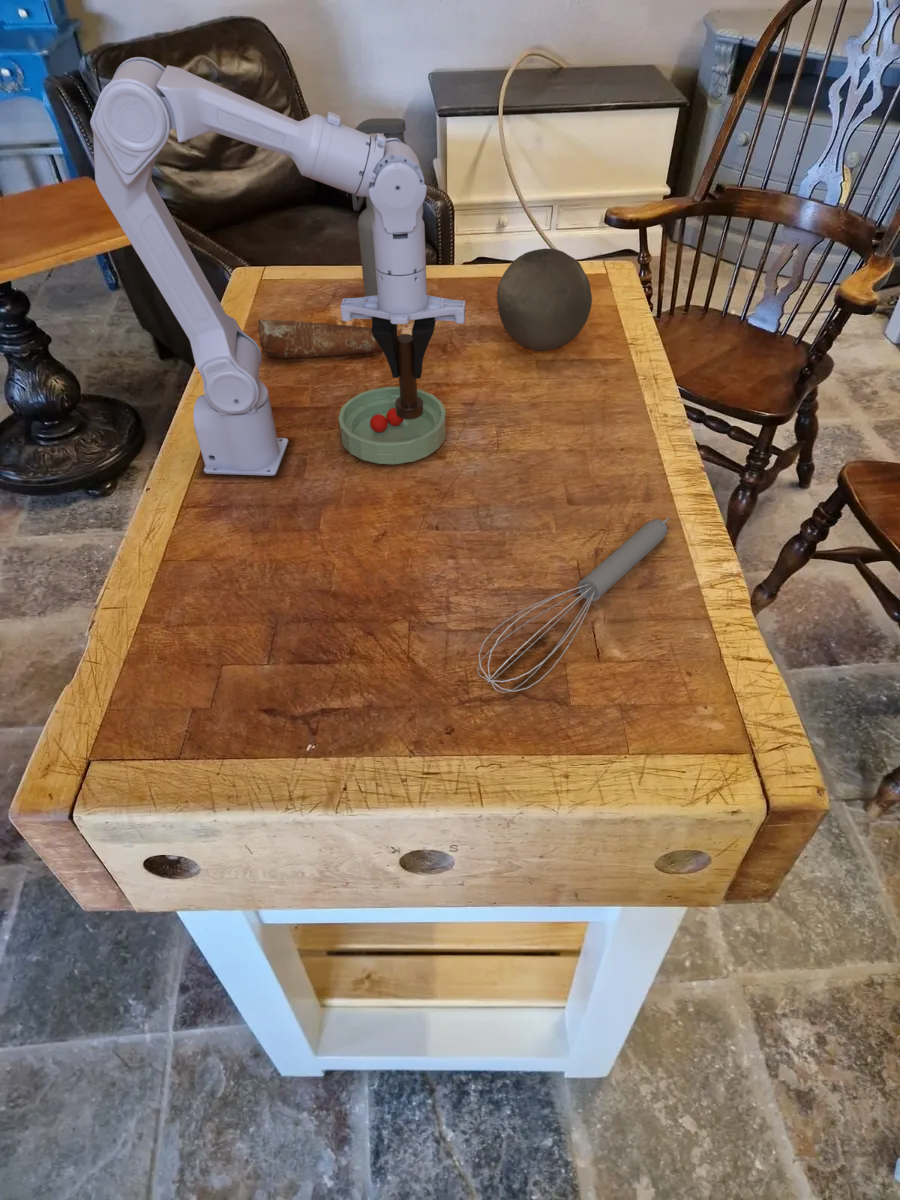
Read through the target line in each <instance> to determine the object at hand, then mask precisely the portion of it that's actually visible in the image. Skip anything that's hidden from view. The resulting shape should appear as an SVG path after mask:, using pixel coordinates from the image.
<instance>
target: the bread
mask: <svg viewBox="0 0 900 1200" xmlns="http://www.w3.org/2000/svg"><path fill="white" fill-rule="evenodd" d="M257 324H258V329H257V331H258V334H259V343H260V347H261V350H262V351H261V352H262V353H263V355H265V357H268V358H275V359H297V358H298V359H299V358H312V357H314V358H315V357H338V356H349V355H361V354H371V353H377V352H379V351H380V350H382V348H381V347H380V345H379V344H378V342H377V341H376V339H375V338H374V337H373V335H372V331H371V328H372V327H370V326H369V327H368V326H367V327H366V326H356V325H345V324H344V325H343V324H333V323H323V322H311V321H310V322H309V321H297V320H283V319H263V318H262V319H258V322H257Z"/></svg>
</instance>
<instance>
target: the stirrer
mask: <svg viewBox="0 0 900 1200" xmlns="http://www.w3.org/2000/svg"><path fill="white" fill-rule="evenodd" d="M396 344H397V359H398V372H399V377H398V387H399V388H400V397H399V398H398V399H397V400H396V401H395V410H396V415H397V416H398V417H400V418H402V419H416V418H418V417H420V416H421V415H422V414H423V400H422V399H421V398H420V397H418V396H417V389H418V384H417V383H418V381H417V379H415V376H414V361H415V356H414V345H413V338H412V334H409V333H402V334H399V335H397V338H396Z"/></svg>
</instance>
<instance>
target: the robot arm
mask: <svg viewBox="0 0 900 1200" xmlns="http://www.w3.org/2000/svg"><path fill="white" fill-rule="evenodd" d="M341 122H342V120H341V116H340V115H339V114H337V113H334V112H331V111H328V112H327V115H326V117H325V116H323V115H320V114H317V113H314V114H312V115H310V116H308V117H306V118H304V119H301V120H296V119H293V118H291V117H290V116H288V115H285V114H282V113H280V112H279V111H276V110H274V109H272V108H269V107H267V106H265V105H262V104H261V103H258V102H257V101H253V100H252V99H249V98H247V97H244V96H242V95H240V94H238V93H236V92H234V91H231V90H229V89H227V88H225V87H222V86H220V85H218V84H216V83H213V82H211V81H209V80H207V79H204V78H203V77H200V76H198V75H196V74H194V73H192V72H189V71H187V70H185V69H183V68H181V67H177V66H172V65H169V64H168V65H166V67H164V66H163V65H162V64H161V63H159V62H158V61H155V60H154V59H151V58H148V57H143V56H135V57H130V58H127V59H126V60H124V61H122V62H121V64H120V65H119V66H118V67H117V68H116V70H115V73H114V74H113V77H112V78H111V80H110V82H108V83H107V84H106V85H105V86H104V87H103V89H102V90H101V92H100V93H99V96H98V98H97V101H96V104H95V107H94V110H93V112H92V115H91V118H90V121H89V124H90V128H91V131H92V137H93V139H92V140H93V156H94V157H93V164H94V180H95V184H96V186H97V189H98V191H99V193H100V194H101V196H102V198H103V199H104V201H105V203H106V205H107V206H108V208H109V209H110V211H111V213H112V214H113V216H114V218H115V220H116V221H117V223H118V224H119V226H120V228H121V229H122V231H123V233H124V234H125V236H126V238H127V239H128V241H129V242H130V244H131V246H132V248H133V249H134V251H135V253H136V255H138V257H139V259H140V261H141V263H142V264H143V265H144V267H145V269H146V271H147V272H148V274H149V275H150V277H151V279H152V280H153V282H154V284H155V285H156V287H157V288H158V291H159V292H160V295H162V297H163V299H164V301H165V302H166V304H167V305H168V307H169V308H170V310H171V312H172V314H173V315H174V317H175V319H176V320H177V322H178V323H179V325H180V327H181V329H182V330H183V332H184V333H185V335H186V336H187V338H188V341H189V343H190V347H191V352H192V356H193V360H194V365H195V367H196V369H197V371H198V372H199V374H200V377H201V379H202V384H203V387H202V388H203V392H204V393H203V394H202V395H199V396H198V397H197V398H196V400H195V403H194V407H193V417H192V418H193V427H194V431H195V435H196V439H197V442H198V445H199V449H200V452H201V456H202V459H203V463H204V468H203V472H204V474H207V475H209V474H210V475H241V476H267V477H274V476H277V473H278V471H279V468H280V465H281V463H282V460H283V458H284V455H285V453H286V450H287V447H288V444H289V439H288V438H286V437H278V434H277V429H276V425H275V420H274V414H273V409H272V405H271V399H270V394H269V389H268V388H267V386H266V385H265V384H264V383H263V382H262V379H260V370H261V369H260V368H261V364H262V358H263V357H262V351H261V348H260V346H259V344H258V343H257V341H255V340H254V339H253V338H252V337H251V336H250V335H248V334H247V333H245V331H243V330H242V328H241V326H240V325H239V323H238V322H237V320H236V318H234V317H232V316H231V315H229V314H227V313H226V311H225V309H224V307H223V306H222V304H221V302H220V300H219V299H218V297H217V295H216V294H215V292H214V290H213V287H212V286H211V284H210V282H209V281H208V279H207V277H206V276H205V274H204V272H203V270H202V268H201V266H200V265H199V262H198V261H197V259H196V257H195V255H194V253H193V252H192V250H191V248H190V247H189V245H188V243H187V241H186V239H185V237H184V236H183V234H182V232H181V231H180V229H179V227H178V225H177V223H176V221H175V220H174V217H173V216H172V214H171V212H170V210H169V209H168V207H167V205H166V203H165V202H164V199H163V198H162V196H161V195H160V193H159V190H158V189H157V186H155V184H154V182H153V179H152V175H153V171H154V168H155V164H156V161H157V157H158V156H159V154H160V152H161V151H162V150H163V148H164V147H165V145H166V144H167V142H168V140H169V137H170V133H171V131H172V130H176V137H177V142H178V143H183V142H186V141H188V140H191V139H194V138H197V137H199V136H202V135H204V134H206V133H216V134H218V135H222V136H224V137H227V138H231V139H233V140H236V141H240V142H243V143H246V144H249V145H252V146H255V147H258V148H262V149H265V150H268V151H271V152H274V153H277V154H280V155H283V156H286V157H289V158H291V160H292V161H293V162H294V165H295V166H296V169H297V170H298V172H299V173H300V175H301V176H302V177H305V178H309V179H311V180H314V181H315V182H316V181H317V182H319V183H321V184H324V185H327V186H329V187H332V188H335V189H338V190H340V191H343V192H345V193H347V194H348V193H349V194H351V195H352V194H354V195H356V196H357V197H358V198H359V197H364V198H366V197H370V199H371V201H372V203H373V212H374V221H373V223H372V231H373V243H374V255H375V268H376V280H377V292H378V295H374V296H367V297H365V296H361V297H346V298H345V297H344V298H342V300H341V303H340V306H339V307H340V315H341V321H342V322H351V321H352V320H353V319H354V320H355V319H356V320H371V322H372V323H371V327H370V328H371V331H372V335H373V337H374V338H375V339H376V341H377V342H378V344H379V345H380V347H381V348H382V349H381V350H382V352H383V355H384V356H385V358H386V360H387V363H388V366H389V369H390V372H391V376H392V378H393V379H399V372H398V359H397V344H396V338H397V336H398V325H407V324H409V322H410V321H414V322H413V325H412V330H411V335H412V338H413V345H414V356H415V361H414V376H415V379H416V380H418V379H421V377H422V373H423V361H424V357H425V354H426V352H427V348H428V346H429V343H430V341H431V339H432V337H433V335H434V332H435V327H436V323H437V322H436V321H439V322H440V321H442V322H443V321H444V322H445V321H446V322H447V321H449V322H454V323H455V324H459V325H461V324H465V323H466V322H465V321H466V300H461V299H460V300H457V299H450V298H445V297H439V296H435V295H434V296H433V295H429V294H428V290H427V289H428V288H427V285H428V284H427V283H428V282H427V260H426V259H427V258H426V256H427V255H426V233H425V232H426V230H425V221H424V220H423V215H424V206H423V203H424V202H425V199H426V195H427V189H428V186H427V184H426V182H425V177H424V173H423V169H422V167H421V164H420V161H419V158H418V157H417V155H416V153H415V151H414V150H413V148H411V147H410V146H409V145H408V144H407V143H406V144H407V145H406V144H404V143H402V142H401V141H400V140H399V139H398V138H387V139H386V137H385V136H384V134H382V133H376V134H375V136H372V135H371V134H365V133H363V132H360V131H358V130H355V129H356V128H353V127H350V126H347V125H345V124H343V123H341Z"/></svg>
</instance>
